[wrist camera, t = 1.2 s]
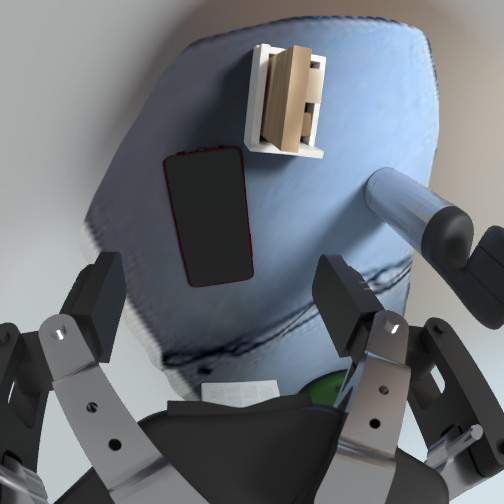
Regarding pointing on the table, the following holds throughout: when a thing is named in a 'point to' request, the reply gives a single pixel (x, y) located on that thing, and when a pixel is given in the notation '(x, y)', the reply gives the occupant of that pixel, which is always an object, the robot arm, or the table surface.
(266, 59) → the rack
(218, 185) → the smartphone
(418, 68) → the table surface
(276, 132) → the tan rectangular block
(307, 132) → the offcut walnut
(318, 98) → the offcut maple
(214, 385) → the skincare box
